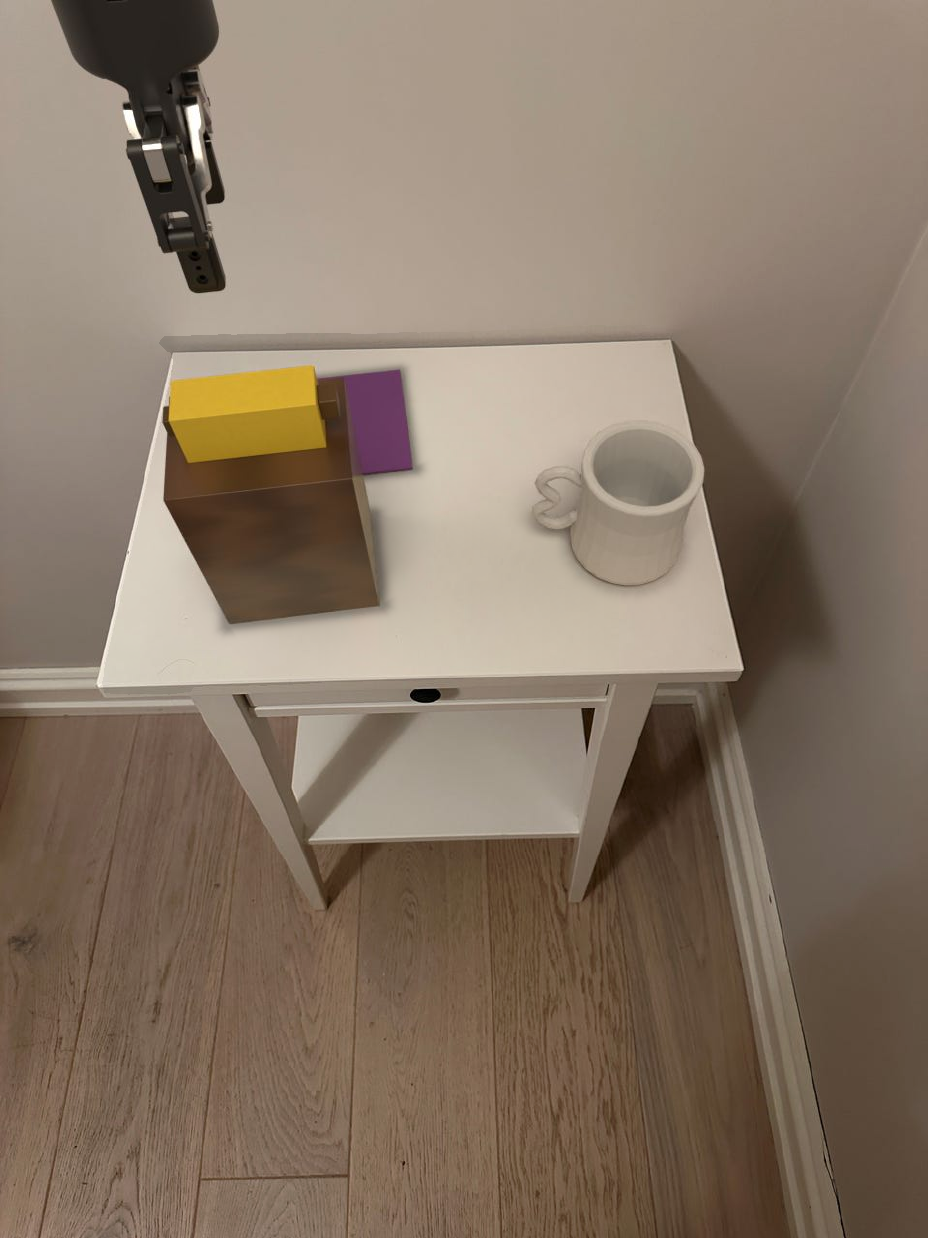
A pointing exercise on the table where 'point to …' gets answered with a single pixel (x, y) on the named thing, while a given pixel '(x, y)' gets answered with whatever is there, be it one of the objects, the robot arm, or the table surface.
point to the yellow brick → (250, 413)
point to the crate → (279, 525)
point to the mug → (628, 500)
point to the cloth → (379, 420)
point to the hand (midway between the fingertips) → (209, 243)
